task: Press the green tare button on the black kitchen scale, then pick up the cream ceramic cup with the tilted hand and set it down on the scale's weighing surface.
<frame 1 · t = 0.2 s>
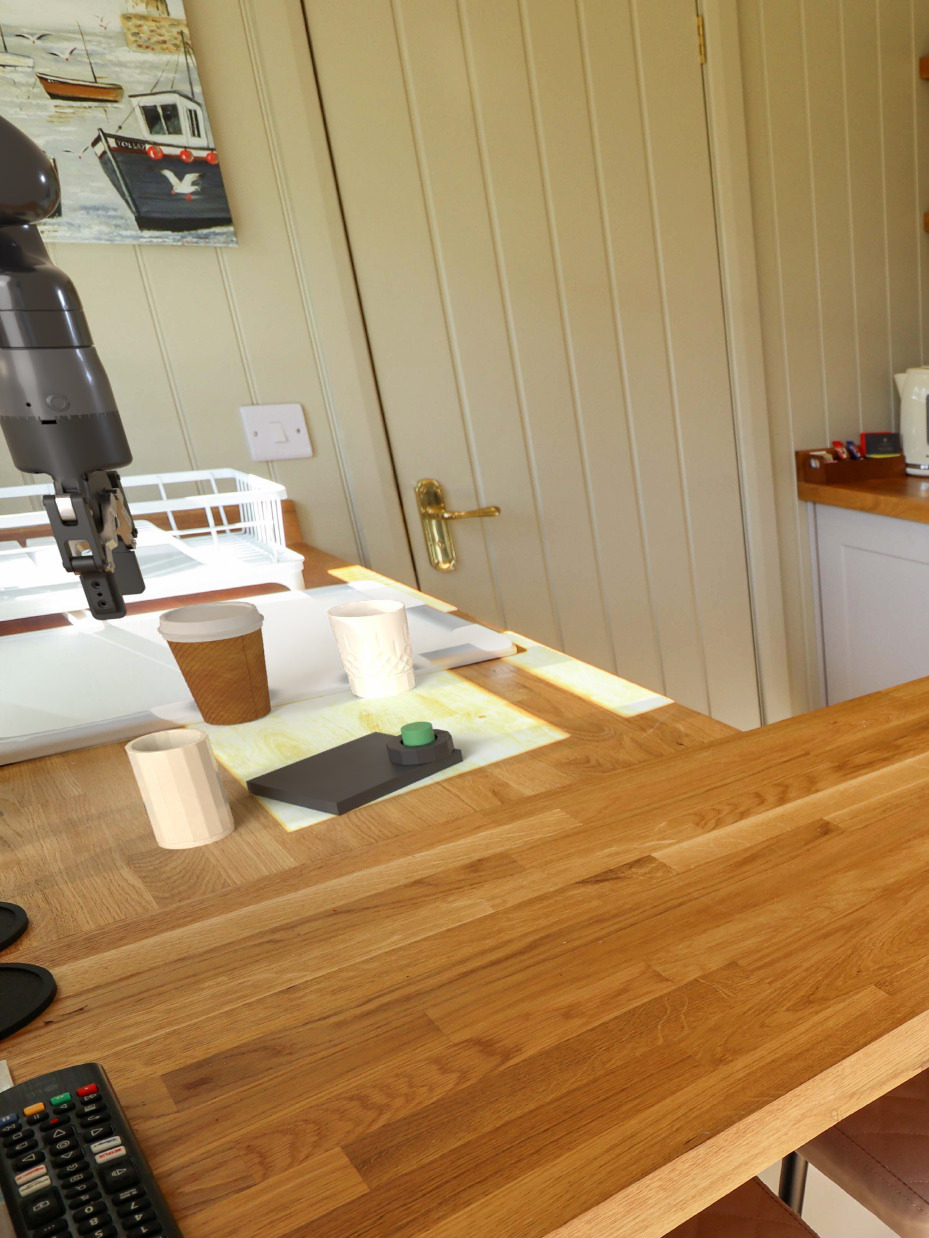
hand: (121, 605, 93), 19 cm above the breakfast bar, tool pointing down, fingers open, 8 cm apart
cup: (196, 835, 96), on the breakfast bar
disposable coffee cup: (238, 717, 122), on the breakfast bar
white cup: (385, 690, 131), on the breakfast bar
scale: (360, 777, 107), on the breakfast bar
tare button: (417, 734, 109), point 4 cm above the breakfast bar, slide at 0.1 cm
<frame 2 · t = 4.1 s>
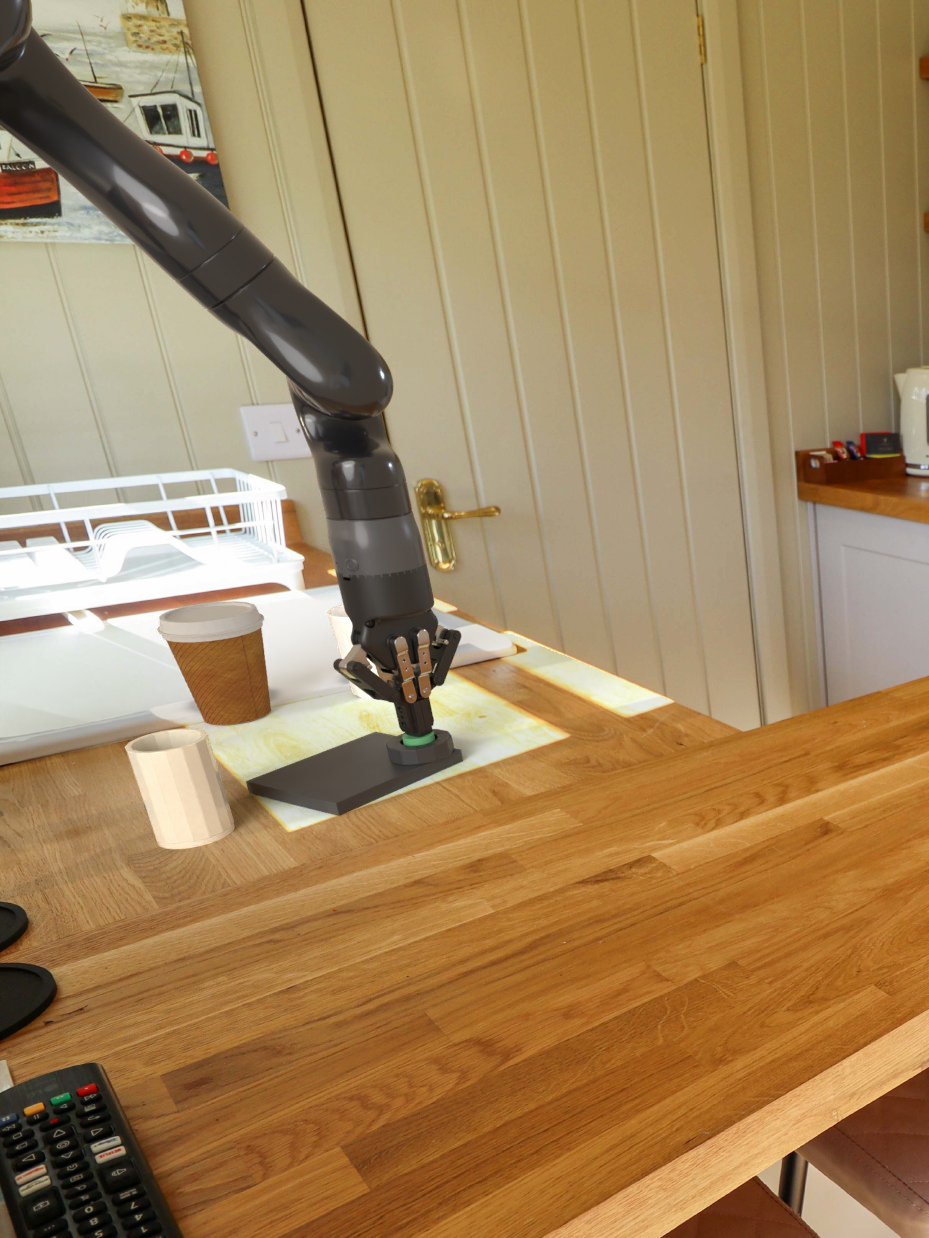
hand: (418, 733, 109), 4 cm above the breakfast bar, tool pointing down, fingers closed
tare button: (419, 742, 109), point 3 cm above the breakfast bar, slide at -0.7 cm, touching gripper
everything else where it was.
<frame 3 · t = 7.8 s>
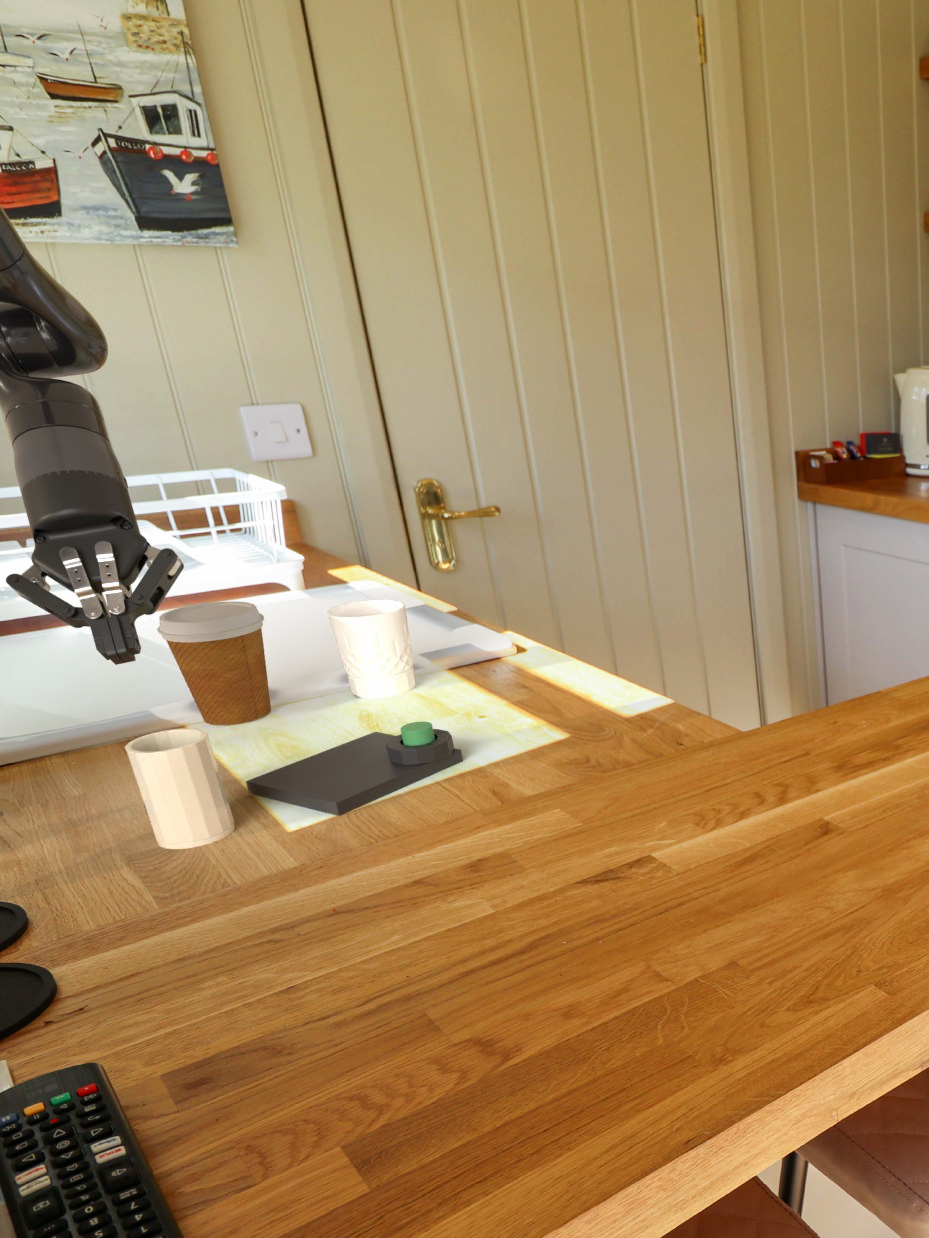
hand: (122, 659, 97), 14 cm above the breakfast bar, tool tilted 40°, fingers closed
tare button: (417, 734, 109), point 4 cm above the breakfast bar, slide at 0.1 cm
everything else where it was.
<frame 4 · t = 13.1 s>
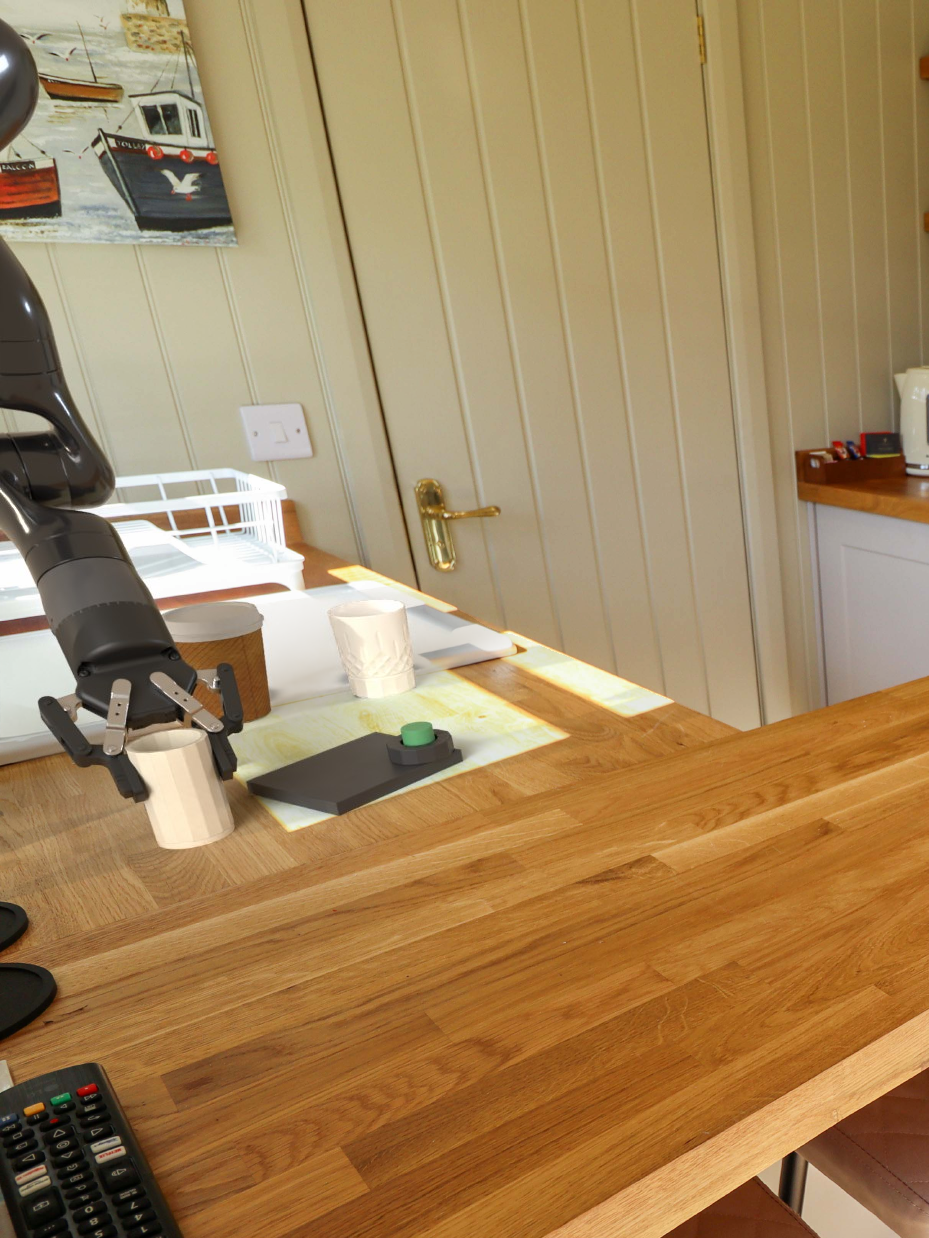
hand: (185, 786, 93), 5 cm above the breakfast bar, tool tilted 45°, fingers closed on cup, 5 cm apart
cup: (196, 835, 96), on the breakfast bar, touching gripper
everything else where it was.
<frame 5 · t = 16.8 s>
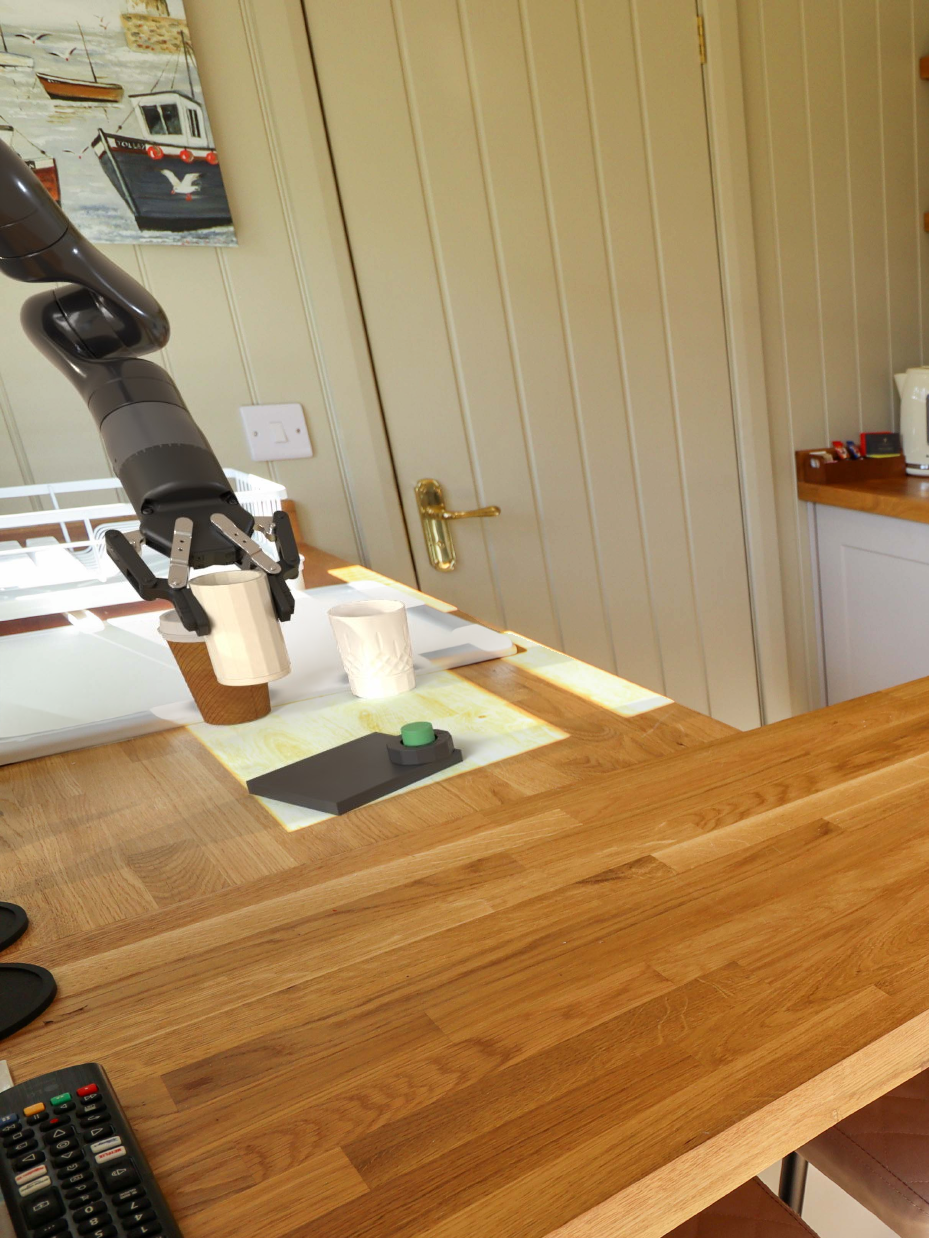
hand: (246, 623, 95), 17 cm above the breakfast bar, tool tilted 45°, fingers closed on cup, 5 cm apart
cup: (255, 675, 98), point 12 cm above the breakfast bar, touching gripper
everything else where it was.
when the fingers open (7 cm above the breakfast bar, at t = 20.8 s): cup stays where it is, resting on scale.
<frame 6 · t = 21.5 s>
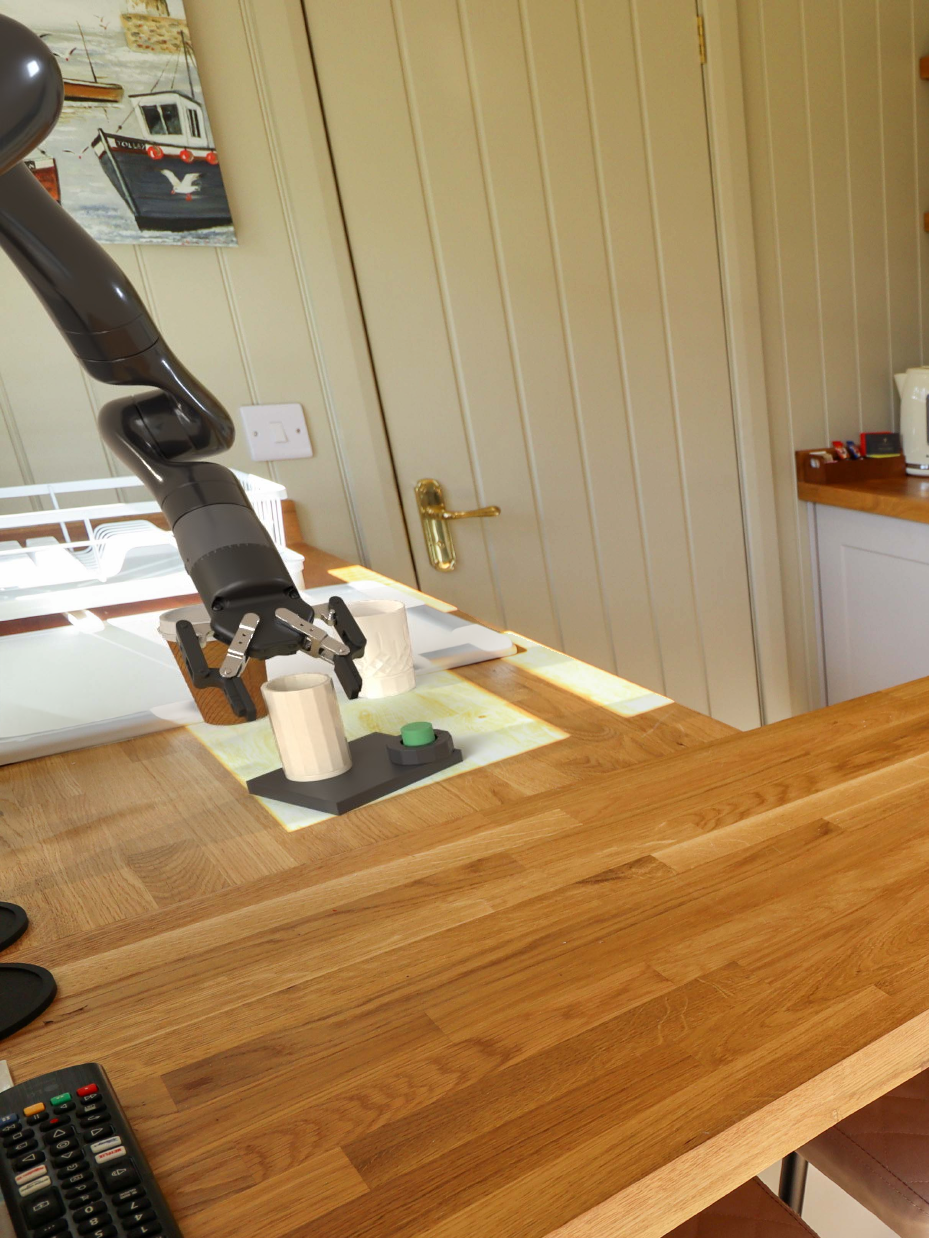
hand: (305, 706, 102), 8 cm above the breakfast bar, tool tilted 45°, fingers open, 8 cm apart
cup: (319, 770, 105), point 1 cm above the breakfast bar, touching scale
everything else where it was.
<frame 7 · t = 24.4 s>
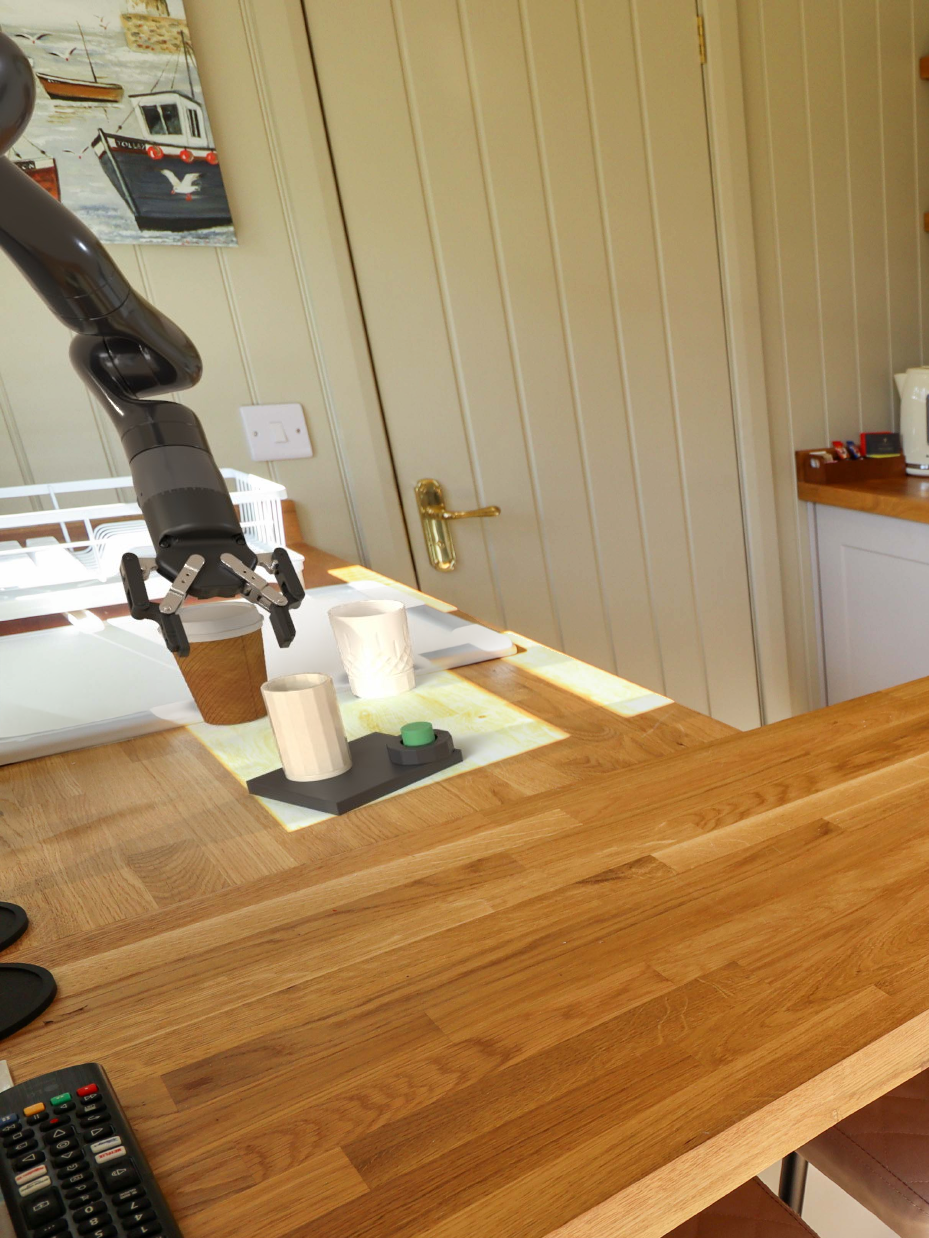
hand: (237, 649, 108), 11 cm above the breakfast bar, tool tilted 40°, fingers open, 8 cm apart
nothing on the breakfast bar moved.
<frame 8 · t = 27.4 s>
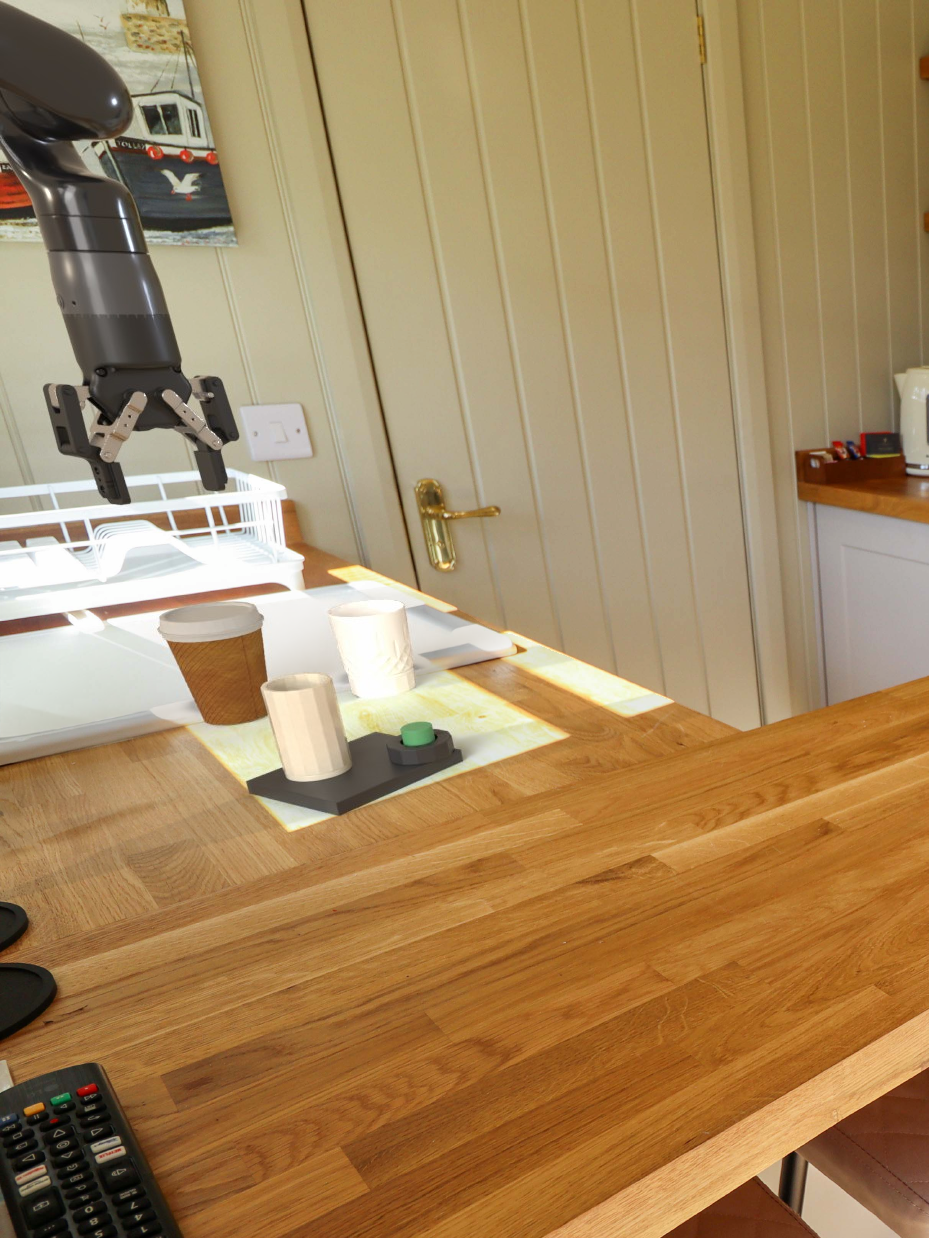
hand: (169, 497, 102), 26 cm above the breakfast bar, tool pointing down, fingers open, 8 cm apart
nothing on the breakfast bar moved.
at the end: tare button pushed in 0.9 cm at the most during the clip, back to where it started at the end; cup inside the target area on the scale (2.2 cm from its centre), point 1.4 cm above the scale's base; cup touching scale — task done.
